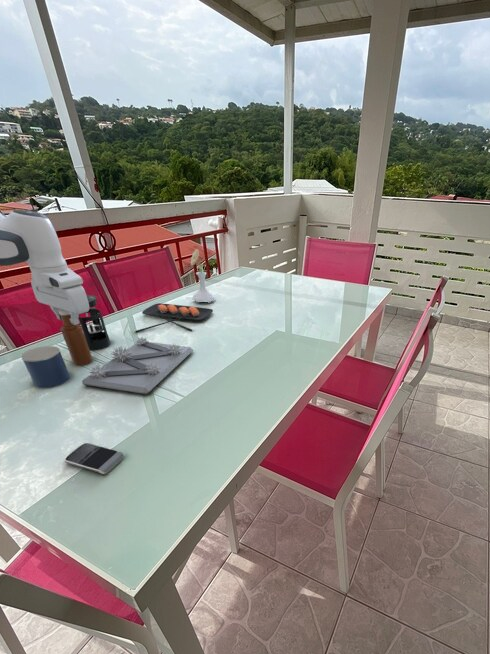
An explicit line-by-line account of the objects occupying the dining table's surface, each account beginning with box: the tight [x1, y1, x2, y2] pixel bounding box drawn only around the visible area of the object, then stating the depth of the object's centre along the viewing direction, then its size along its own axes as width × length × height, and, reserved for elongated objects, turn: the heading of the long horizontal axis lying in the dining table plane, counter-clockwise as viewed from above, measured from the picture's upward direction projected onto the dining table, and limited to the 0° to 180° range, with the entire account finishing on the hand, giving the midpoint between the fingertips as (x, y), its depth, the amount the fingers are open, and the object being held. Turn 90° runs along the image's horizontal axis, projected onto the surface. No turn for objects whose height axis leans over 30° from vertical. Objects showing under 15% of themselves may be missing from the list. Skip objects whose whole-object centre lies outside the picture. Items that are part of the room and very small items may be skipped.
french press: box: [78, 279, 112, 351], centre depth 114 cm, size 12×9×23 cm
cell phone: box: [63, 442, 124, 475], centre depth 73 cm, size 6×11×1 cm, turn 73°
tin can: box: [20, 345, 71, 389], centre depth 97 cm, size 9×9×9 cm
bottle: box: [59, 309, 94, 367], centre depth 105 cm, size 6×6×18 cm
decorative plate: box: [81, 337, 194, 395], centre depth 106 cm, size 30×22×7 cm
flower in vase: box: [190, 248, 217, 304], centre depth 158 cm, size 13×11×25 cm
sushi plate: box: [135, 303, 214, 333], centre depth 141 cm, size 29×30×4 cm
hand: (68, 321), depth 102 cm, fingers open, 5 cm apart
